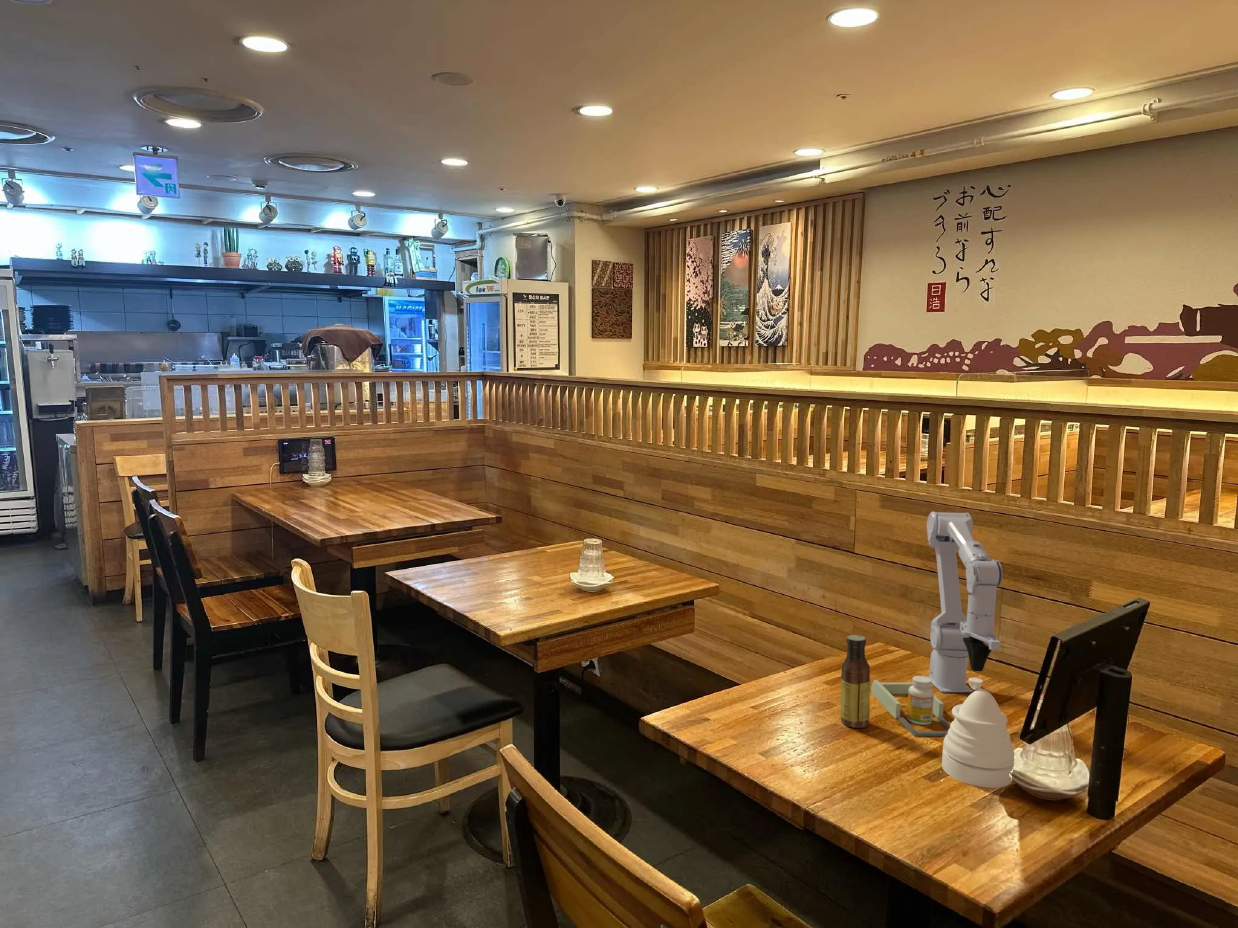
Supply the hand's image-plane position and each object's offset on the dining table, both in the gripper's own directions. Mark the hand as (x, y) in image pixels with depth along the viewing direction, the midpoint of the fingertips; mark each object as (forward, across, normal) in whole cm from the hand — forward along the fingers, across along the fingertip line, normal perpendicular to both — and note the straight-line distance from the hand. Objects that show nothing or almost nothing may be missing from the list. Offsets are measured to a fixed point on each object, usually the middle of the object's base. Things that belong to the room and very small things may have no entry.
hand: (976, 670), depth 187 cm
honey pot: (+11, +27, -13) cm, 32 cm away
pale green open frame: (+10, -4, -14) cm, 18 cm away
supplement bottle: (+11, +4, -14) cm, 18 cm away
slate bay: (+10, +7, -14) cm, 19 cm away
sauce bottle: (+11, +5, -30) cm, 32 cm away
